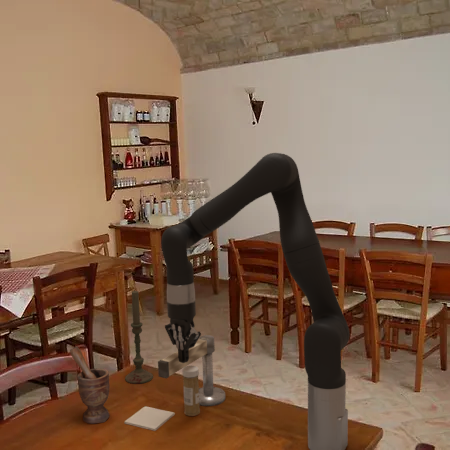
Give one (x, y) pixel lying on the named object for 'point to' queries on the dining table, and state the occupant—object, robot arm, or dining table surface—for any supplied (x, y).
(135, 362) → the candlestick holder
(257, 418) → the dining table surface
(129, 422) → the cream pad
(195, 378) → the sprinkles bottle
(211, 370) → the post
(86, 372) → the mortar and pestle
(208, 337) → the swing arm
